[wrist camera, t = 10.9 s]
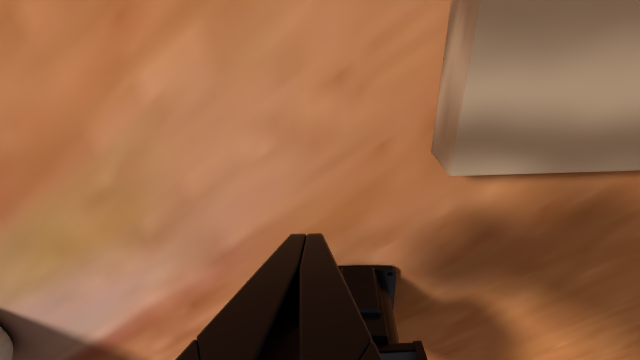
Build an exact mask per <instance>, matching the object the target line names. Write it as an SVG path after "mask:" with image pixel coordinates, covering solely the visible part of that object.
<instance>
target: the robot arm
mask: <svg viewBox="0 0 640 360" xmlns="http://www.w3.org/2000/svg"><path fill="white" fill-rule="evenodd" d="M388 272H390V273H388ZM395 281H396V271H395V268H394V267H392V266H337V264H336V262H335V259H334V257H333V255H332V253H331V251H330V249H329V247H328V245H327V243H326V241H325V239H324V236H323V235H322V234H320V233H315V234H307V236H306V234H291V235H290V236H289V237H288V238H287V239H286V240H285V241H284V242H283V243H282V244H281V245H280V246H279V248H278V249H277V250H276V251H275V252H274V253H273V254H272V255H271V256H270V257H269V258H268V260H267V261H266V262H265V263H264V264H263V265H262V266H261V267H260V268H259V269H258V270H257V272H256V273H255V274H254V275H253V276H252V277H251V278H250V279H249V280H248V281H247V282H246V284H245V285H244V286H243V287H242V288H241V289H240V290H239V291H238V292H237V293H236V294H235V296H234V297H233V298H232V299H231V300H230V301H229V302H228V303H227V304H226V305H225V306H224V308H223V309H222V310H221V311H220V312H219V313H218V314H217V315H216V316H215V317H214V318H213V320H212V321H211V322H210V323H209V324H208V325H207V326H206V327H205V328H204V329H203V330H202V332H201V333H200V334H199V335H198V336H197V340H193V341H192V342H191V343H190V344H189V345H188V347H187V348H186V349H185V350H184V351H183V352H182V353H181V354H180V355H179V356H178V357H177V358H176V359H175V360H427V357H426V354H425V351H424V348H423V345H422V342H421V341H413V343H399V339H398V334H397V329H396V324H395V319H394V314H393V303H394V292H395Z"/></svg>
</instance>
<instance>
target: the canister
mask: <svg viewBox="0 0 640 360" xmlns="http://www.w3.org/2000/svg"><path fill="white" fill-rule="evenodd" d="M12 356H13V343H12V341H11V340H10V337H9V336H8V335H7V333H6V332H5V331H4V330H3V329H2V327H1V326H0V360H12Z"/></svg>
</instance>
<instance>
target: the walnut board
mask: <svg viewBox="0 0 640 360" xmlns="http://www.w3.org/2000/svg"><path fill="white" fill-rule="evenodd" d="M431 153H432V154H433V155H434V156H435V158H436V159H437V160H438V162H439V163H440V164H441V166H442V167H443V168H444V169H445V171H446V172H447V173H448V175H449V176H469V175H502V174H535V173H568V172H601V171H634V170H640V0H452V1H451V8H450V16H449V23H448V31H447V38H446V46H445V53H444V60H443V68H442V75H441V83H440V90H439V98H438V105H437V113H436V120H435V128H434V135H433V142H432V150H431Z"/></svg>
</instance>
